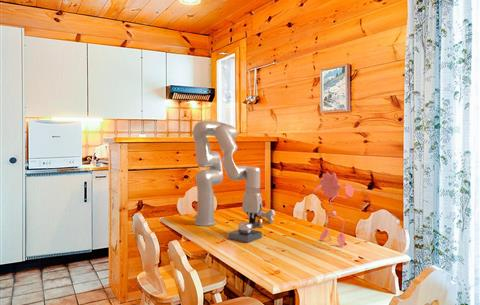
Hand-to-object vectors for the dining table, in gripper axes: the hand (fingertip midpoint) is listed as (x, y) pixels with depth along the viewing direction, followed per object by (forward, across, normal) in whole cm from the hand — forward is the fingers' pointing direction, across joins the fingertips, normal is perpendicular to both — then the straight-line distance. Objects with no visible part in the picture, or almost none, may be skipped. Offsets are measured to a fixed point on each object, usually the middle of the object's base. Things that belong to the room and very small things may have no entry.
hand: (252, 225), depth 189 cm
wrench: (+5, -14, +32) cm, 36 cm away
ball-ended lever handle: (+1, +2, -4) cm, 5 cm away
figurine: (+5, +39, +8) cm, 40 cm away
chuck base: (+5, +2, -8) cm, 10 cm away
